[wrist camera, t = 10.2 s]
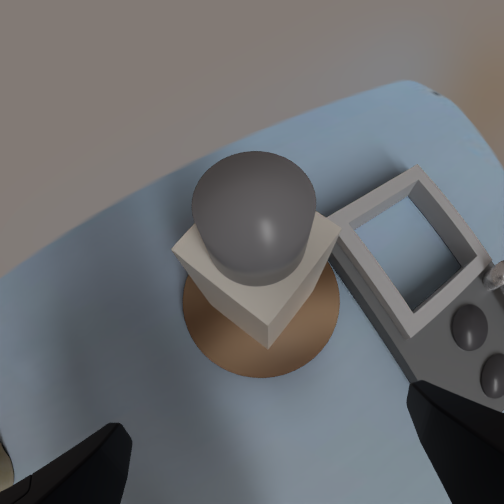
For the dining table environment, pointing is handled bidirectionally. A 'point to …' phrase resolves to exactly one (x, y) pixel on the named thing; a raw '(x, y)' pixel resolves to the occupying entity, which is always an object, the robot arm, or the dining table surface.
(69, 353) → the dining table surface
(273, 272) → the white carton with cap
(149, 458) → the dining table surface
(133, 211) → the dining table surface
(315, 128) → the dining table surface
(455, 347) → the grey control panel
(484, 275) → the lever
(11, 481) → the flower pot
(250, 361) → the disc
